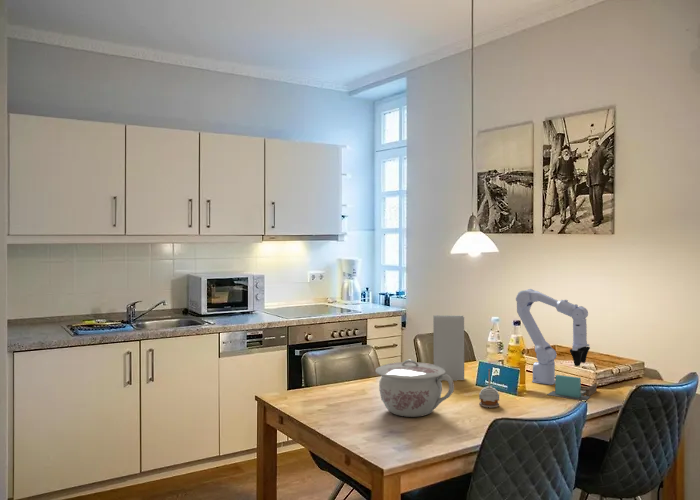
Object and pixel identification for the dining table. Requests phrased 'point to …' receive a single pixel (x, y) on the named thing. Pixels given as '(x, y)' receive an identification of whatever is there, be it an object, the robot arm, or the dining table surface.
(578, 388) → the teal sheet
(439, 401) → the chamber pot
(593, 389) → the offcut rack
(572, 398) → the slate mat
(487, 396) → the caramel apple
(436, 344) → the tall grey upright panel
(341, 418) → the dining table surface
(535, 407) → the dining table surface
